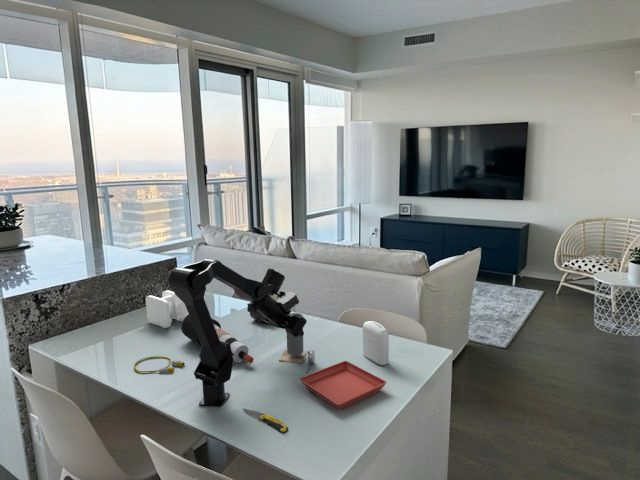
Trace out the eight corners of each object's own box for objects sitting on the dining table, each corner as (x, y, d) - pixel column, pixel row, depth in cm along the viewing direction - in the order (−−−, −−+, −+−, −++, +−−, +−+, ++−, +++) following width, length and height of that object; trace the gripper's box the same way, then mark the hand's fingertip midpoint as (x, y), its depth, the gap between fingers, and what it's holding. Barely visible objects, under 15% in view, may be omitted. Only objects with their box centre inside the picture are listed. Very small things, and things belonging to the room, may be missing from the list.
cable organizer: (146, 322, 180) (143, 295, 178) (168, 314, 188) (166, 288, 186) (167, 330, 171) (165, 301, 169) (190, 322, 179) (188, 294, 177)
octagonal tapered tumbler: (301, 355, 143) (300, 318, 140) (286, 354, 144) (284, 318, 141) (304, 349, 148) (303, 313, 145) (289, 348, 148) (288, 312, 146)
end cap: (249, 321, 179) (248, 305, 178) (262, 316, 184) (261, 300, 183) (267, 326, 173) (266, 310, 172) (279, 321, 178) (279, 305, 177)
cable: (245, 381, 139) (233, 361, 134) (188, 342, 161) (176, 323, 156) (267, 359, 145) (257, 339, 139) (209, 324, 167) (198, 305, 161)
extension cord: (151, 383, 132) (150, 376, 131) (127, 367, 142) (126, 361, 142) (187, 368, 141) (187, 362, 140) (162, 354, 151) (161, 349, 151)
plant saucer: (298, 388, 127) (297, 377, 126) (345, 369, 138) (345, 359, 137) (338, 416, 113) (338, 404, 112) (388, 393, 124) (388, 382, 123)
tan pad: (301, 362, 142) (301, 361, 142) (278, 361, 143) (278, 360, 143) (306, 352, 149) (306, 351, 149) (284, 351, 150) (284, 350, 150)
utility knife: (236, 409, 115) (245, 404, 117) (236, 413, 115) (245, 408, 118) (283, 431, 105) (291, 424, 108) (283, 435, 106) (291, 429, 108)
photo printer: (360, 354, 147) (360, 319, 144) (371, 351, 149) (371, 316, 146) (379, 367, 138) (379, 329, 136) (390, 363, 140) (390, 326, 138)
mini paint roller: (310, 373, 135) (310, 361, 134) (303, 373, 135) (303, 360, 134) (315, 362, 142) (315, 350, 141) (308, 361, 142) (308, 350, 142)
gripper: (300, 292, 132) (329, 319, 141) (267, 280, 146) (295, 304, 155) (279, 323, 128) (310, 349, 137) (247, 308, 143) (277, 331, 151)
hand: (298, 332), depth 145 cm, fingers closed on octagonal tapered tumbler, 5 cm apart
